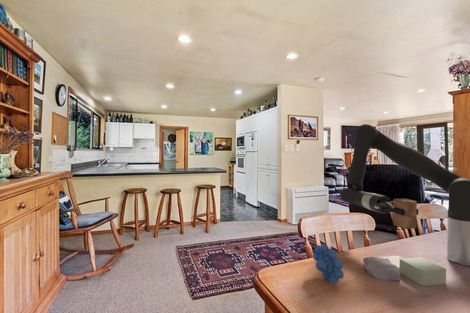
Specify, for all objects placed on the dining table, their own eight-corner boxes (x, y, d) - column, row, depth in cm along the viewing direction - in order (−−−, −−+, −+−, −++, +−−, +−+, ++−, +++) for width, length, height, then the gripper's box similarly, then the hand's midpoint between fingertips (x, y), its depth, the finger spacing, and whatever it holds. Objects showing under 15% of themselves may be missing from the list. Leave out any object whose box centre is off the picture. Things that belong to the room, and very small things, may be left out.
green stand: (420, 270, 87) (420, 257, 87) (445, 283, 78) (446, 268, 78) (399, 272, 86) (399, 258, 86) (422, 286, 77) (423, 271, 77)
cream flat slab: (397, 257, 98) (397, 255, 98) (418, 268, 89) (418, 265, 89) (376, 259, 96) (376, 257, 96) (394, 270, 87) (394, 267, 87)
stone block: (373, 284, 81) (404, 281, 80) (370, 270, 82) (401, 267, 80) (360, 269, 93) (388, 266, 92) (358, 257, 93) (385, 253, 92)
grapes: (305, 275, 84) (305, 242, 83) (317, 270, 87) (317, 238, 87) (335, 292, 74) (335, 254, 74) (347, 285, 78) (347, 249, 77)
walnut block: (404, 224, 92) (404, 198, 91) (416, 228, 87) (416, 201, 86) (393, 224, 91) (393, 199, 91) (404, 229, 86) (405, 201, 86)
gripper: (361, 194, 101) (394, 203, 85) (390, 193, 104) (428, 201, 87) (361, 211, 102) (394, 223, 85) (390, 210, 104) (427, 221, 87)
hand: (411, 212), depth 86 cm, fingers closed on walnut block, 5 cm apart
